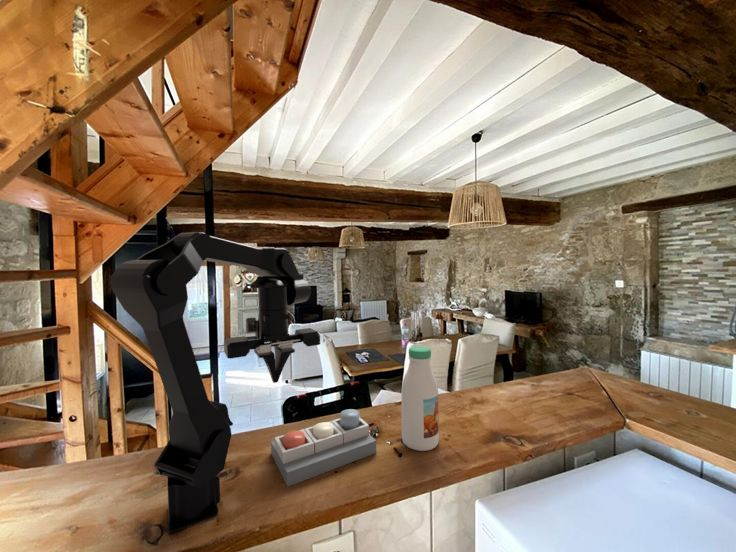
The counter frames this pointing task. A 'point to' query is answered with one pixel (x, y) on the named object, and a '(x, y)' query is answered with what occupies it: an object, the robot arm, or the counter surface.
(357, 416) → the button blue
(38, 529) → the counter surface
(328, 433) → the button ivory
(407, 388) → the milk bottle
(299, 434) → the button red
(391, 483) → the counter surface
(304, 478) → the console
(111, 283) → the robot arm
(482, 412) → the counter surface
